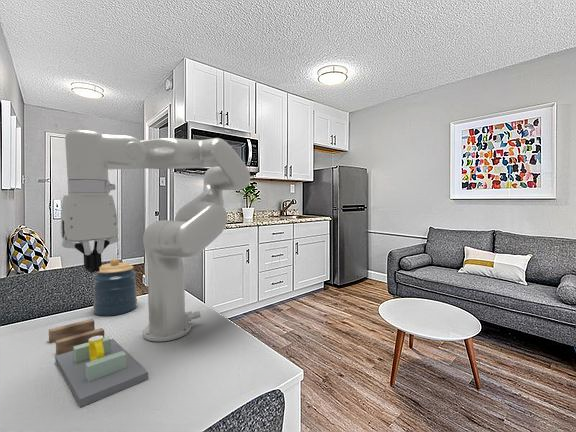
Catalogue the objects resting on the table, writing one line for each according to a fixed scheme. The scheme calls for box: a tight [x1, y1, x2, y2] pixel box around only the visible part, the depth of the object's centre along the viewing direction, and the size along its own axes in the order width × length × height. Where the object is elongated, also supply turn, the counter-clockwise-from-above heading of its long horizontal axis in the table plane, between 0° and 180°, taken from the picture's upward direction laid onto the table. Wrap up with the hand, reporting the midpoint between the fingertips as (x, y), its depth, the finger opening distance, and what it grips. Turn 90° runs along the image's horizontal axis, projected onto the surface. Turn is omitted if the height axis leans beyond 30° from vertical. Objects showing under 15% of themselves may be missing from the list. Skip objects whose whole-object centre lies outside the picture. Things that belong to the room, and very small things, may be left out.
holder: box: [48, 318, 105, 356], centre depth 80 cm, size 10×11×3 cm
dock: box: [54, 336, 149, 408], centre depth 66 cm, size 12×22×4 cm, turn 47°
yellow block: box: [88, 336, 104, 361], centre depth 66 cm, size 6×3×6 cm, turn 47°
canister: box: [92, 257, 138, 317], centre depth 103 cm, size 13×13×18 cm
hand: (93, 271), depth 68 cm, fingers closed
